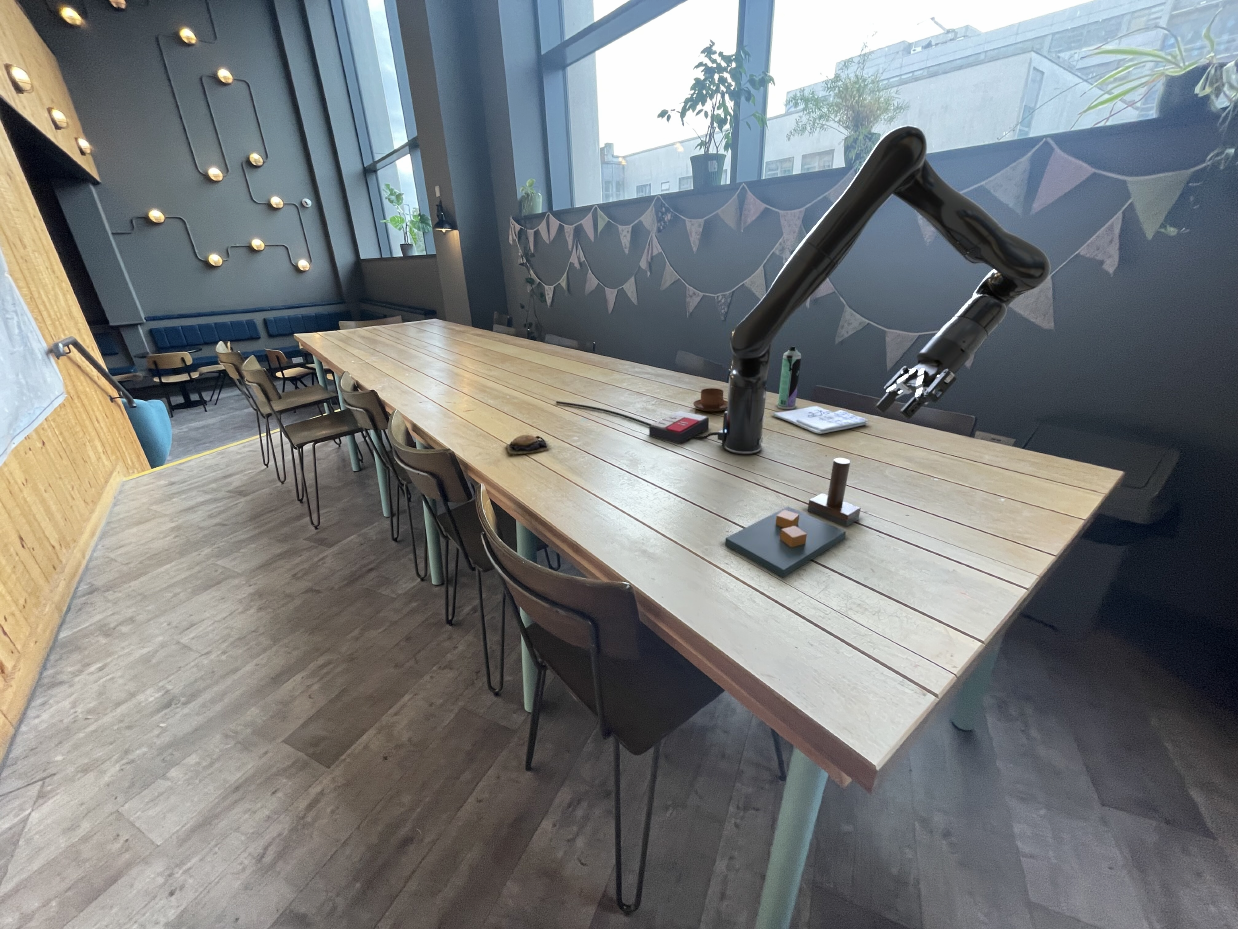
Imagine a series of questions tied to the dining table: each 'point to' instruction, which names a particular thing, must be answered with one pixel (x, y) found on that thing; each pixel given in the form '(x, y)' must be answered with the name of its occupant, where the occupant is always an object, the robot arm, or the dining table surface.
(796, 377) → the spray can
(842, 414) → the folded bicycle print cloth
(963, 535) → the dining table surface
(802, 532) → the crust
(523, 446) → the brown domed lump
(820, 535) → the tray
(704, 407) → the cup and saucer
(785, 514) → the brown wooden block
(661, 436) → the red-topped box
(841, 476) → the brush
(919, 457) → the dining table surface
